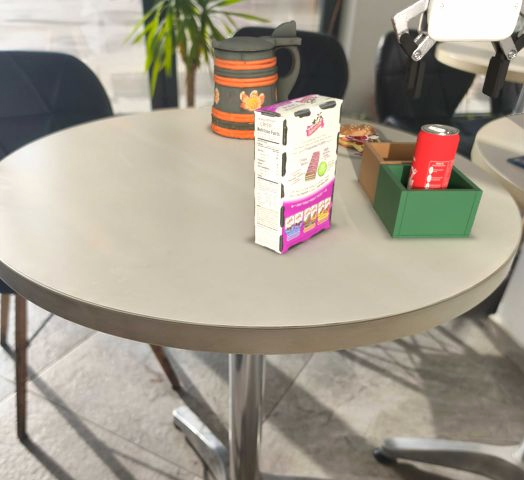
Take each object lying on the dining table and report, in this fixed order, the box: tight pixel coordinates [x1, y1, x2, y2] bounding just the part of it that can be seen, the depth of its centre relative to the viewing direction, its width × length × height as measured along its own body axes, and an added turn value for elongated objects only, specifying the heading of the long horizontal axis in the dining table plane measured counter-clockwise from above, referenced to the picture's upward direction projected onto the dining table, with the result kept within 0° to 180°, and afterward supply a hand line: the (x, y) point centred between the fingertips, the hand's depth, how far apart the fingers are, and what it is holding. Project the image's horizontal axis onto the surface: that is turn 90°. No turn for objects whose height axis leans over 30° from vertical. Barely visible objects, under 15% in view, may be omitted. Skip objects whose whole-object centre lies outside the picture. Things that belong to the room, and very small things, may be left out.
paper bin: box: [358, 141, 416, 205], centre depth 77 cm, size 10×10×7 cm
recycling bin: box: [372, 164, 484, 239], centre depth 68 cm, size 11×11×7 cm
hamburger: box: [338, 123, 382, 157], centre depth 96 cm, size 14×14×6 cm
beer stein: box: [210, 19, 303, 140], centre depth 102 cm, size 19×15×20 cm
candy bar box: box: [253, 93, 344, 255], centre depth 61 cm, size 11×5×16 cm, turn 139°
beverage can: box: [407, 123, 461, 189], centre depth 66 cm, size 5×5×12 cm
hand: (451, 96), depth 60 cm, fingers open, 9 cm apart
